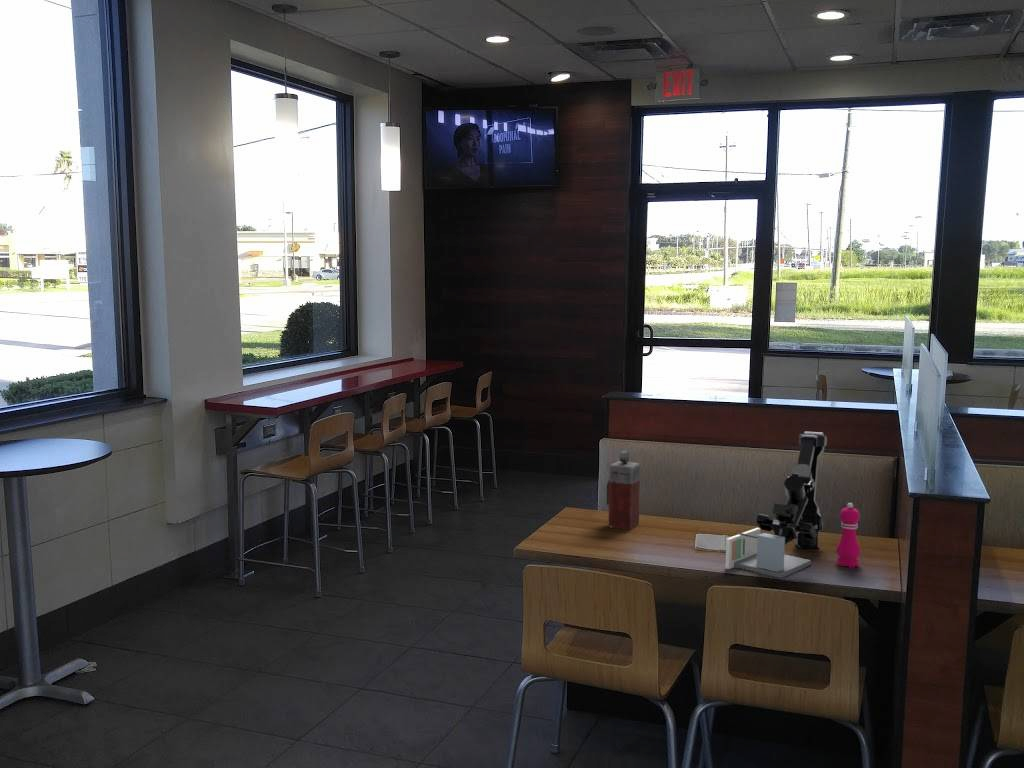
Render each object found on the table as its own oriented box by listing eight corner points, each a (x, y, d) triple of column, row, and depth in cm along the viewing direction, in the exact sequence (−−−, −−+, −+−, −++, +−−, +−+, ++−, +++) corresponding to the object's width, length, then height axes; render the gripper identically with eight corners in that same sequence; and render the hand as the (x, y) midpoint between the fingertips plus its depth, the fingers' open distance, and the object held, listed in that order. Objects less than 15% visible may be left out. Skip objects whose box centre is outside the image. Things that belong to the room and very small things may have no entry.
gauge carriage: (742, 558, 285) (743, 527, 284) (785, 568, 275) (786, 536, 274) (735, 561, 282) (735, 530, 281) (777, 571, 271) (778, 539, 270)
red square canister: (610, 521, 340) (611, 447, 337) (639, 524, 335) (640, 450, 332) (602, 526, 332) (603, 451, 329) (631, 529, 327) (632, 454, 324)
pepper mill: (832, 561, 289) (834, 500, 287) (855, 561, 289) (857, 500, 287) (840, 567, 282) (842, 505, 280) (863, 568, 281) (865, 505, 279)
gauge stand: (761, 553, 297) (762, 525, 296) (810, 564, 285) (812, 535, 284) (725, 568, 281) (726, 538, 280) (775, 580, 269) (776, 549, 268)
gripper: (758, 488, 286) (739, 529, 279) (814, 498, 273) (795, 540, 266) (770, 508, 292) (751, 548, 285) (825, 518, 279) (807, 560, 272)
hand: (775, 549), depth 277 cm, fingers closed
